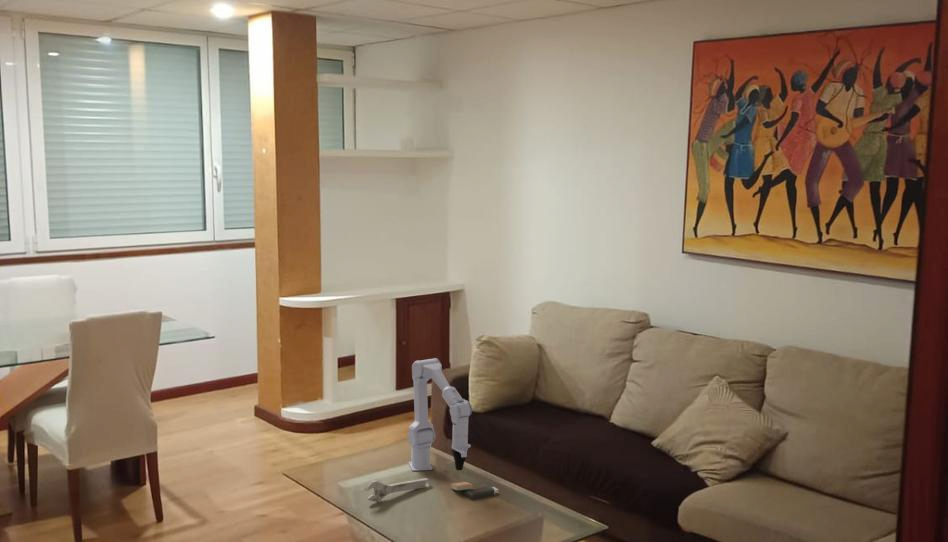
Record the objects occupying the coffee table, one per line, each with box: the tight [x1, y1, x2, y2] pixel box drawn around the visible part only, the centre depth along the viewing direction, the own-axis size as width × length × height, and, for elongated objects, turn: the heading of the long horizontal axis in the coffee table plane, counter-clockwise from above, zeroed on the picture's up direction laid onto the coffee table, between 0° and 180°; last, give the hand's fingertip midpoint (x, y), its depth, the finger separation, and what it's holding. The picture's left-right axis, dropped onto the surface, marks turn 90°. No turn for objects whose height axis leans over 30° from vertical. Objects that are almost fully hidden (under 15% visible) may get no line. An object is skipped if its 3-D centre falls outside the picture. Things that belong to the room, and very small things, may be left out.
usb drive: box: [464, 485, 499, 501], centre depth 296 cm, size 5×12×3 cm, turn 121°
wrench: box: [364, 477, 432, 503], centre depth 293 cm, size 8×2×30 cm
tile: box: [450, 481, 474, 491], centre depth 299 cm, size 2×6×8 cm
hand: (459, 469), depth 301 cm, fingers closed
